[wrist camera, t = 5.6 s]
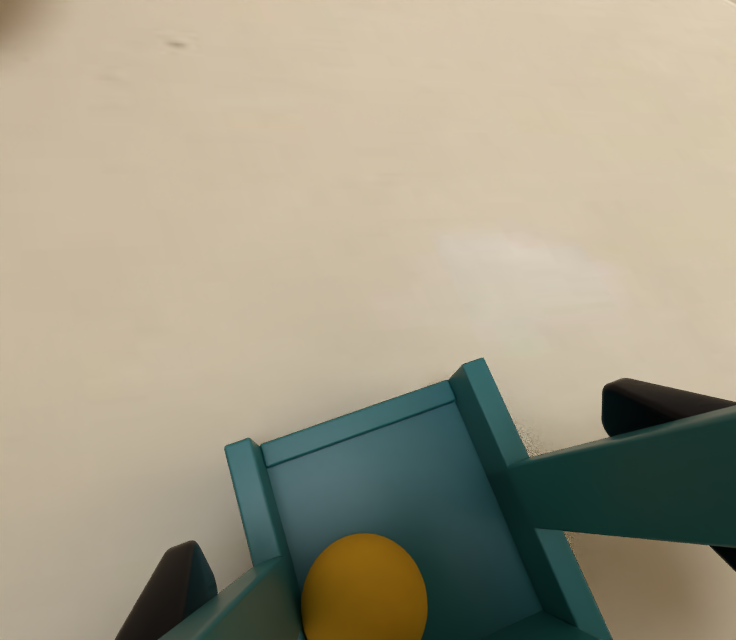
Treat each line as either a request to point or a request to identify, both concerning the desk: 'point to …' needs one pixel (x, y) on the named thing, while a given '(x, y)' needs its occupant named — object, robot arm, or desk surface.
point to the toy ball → (364, 592)
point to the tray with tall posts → (465, 510)
